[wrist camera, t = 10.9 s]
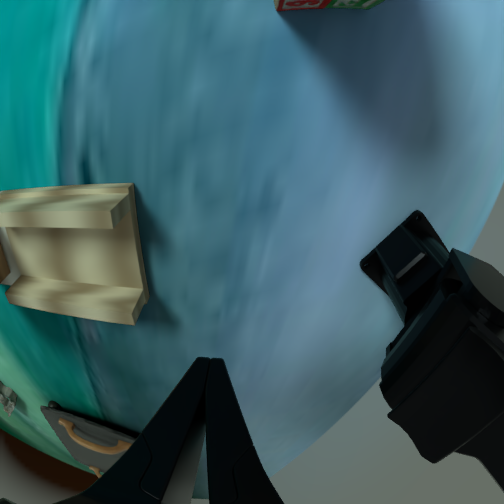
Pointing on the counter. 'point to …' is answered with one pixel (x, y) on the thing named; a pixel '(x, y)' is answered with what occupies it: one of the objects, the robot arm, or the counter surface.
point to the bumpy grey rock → (0, 396)
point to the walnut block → (3, 266)
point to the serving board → (87, 439)
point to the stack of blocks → (324, 4)
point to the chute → (74, 251)
